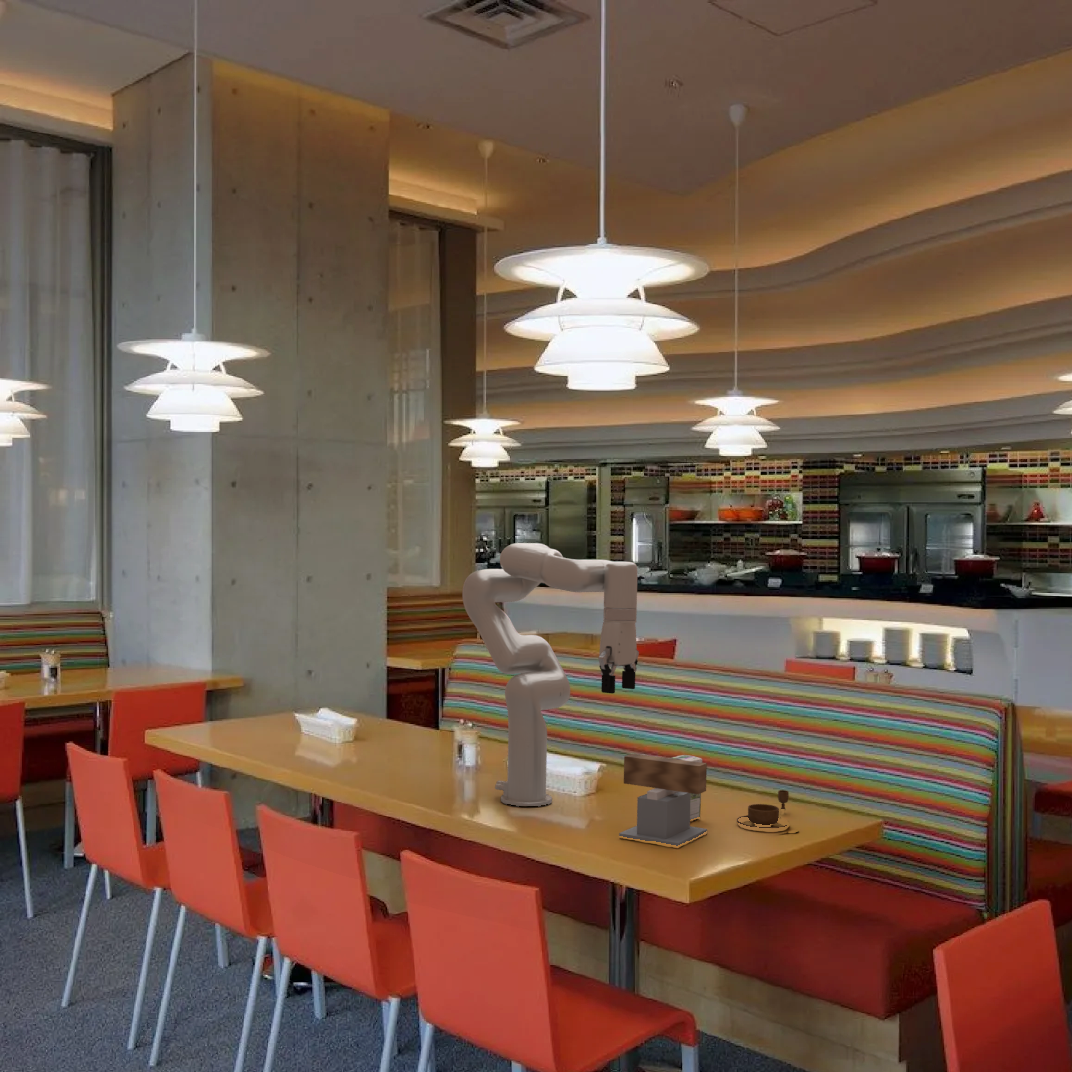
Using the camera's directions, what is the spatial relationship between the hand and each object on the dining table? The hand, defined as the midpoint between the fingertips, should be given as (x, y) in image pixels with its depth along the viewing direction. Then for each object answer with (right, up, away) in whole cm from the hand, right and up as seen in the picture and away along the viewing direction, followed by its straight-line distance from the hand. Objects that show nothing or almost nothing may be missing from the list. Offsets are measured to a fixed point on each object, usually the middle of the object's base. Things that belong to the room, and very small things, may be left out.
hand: (618, 690), depth 269 cm
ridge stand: (+9, -31, -11) cm, 34 cm away
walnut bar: (+9, -20, -11) cm, 24 cm away
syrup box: (+16, -31, +5) cm, 35 cm away
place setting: (+36, -32, +3) cm, 48 cm away
